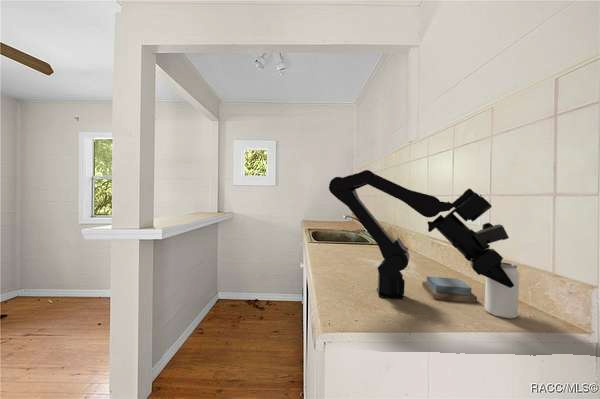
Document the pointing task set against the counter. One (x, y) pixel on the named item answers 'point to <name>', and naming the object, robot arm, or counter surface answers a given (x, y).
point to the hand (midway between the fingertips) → (508, 283)
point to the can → (503, 294)
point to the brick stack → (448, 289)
